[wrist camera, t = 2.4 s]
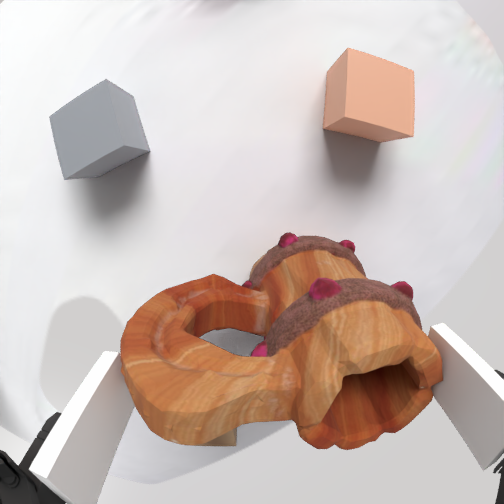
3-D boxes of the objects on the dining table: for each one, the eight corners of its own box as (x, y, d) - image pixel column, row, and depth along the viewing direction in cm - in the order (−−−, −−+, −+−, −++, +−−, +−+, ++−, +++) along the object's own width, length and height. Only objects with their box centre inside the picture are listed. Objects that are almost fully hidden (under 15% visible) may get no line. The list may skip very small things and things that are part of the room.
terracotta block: (322, 129, 19) (344, 116, 14) (326, 71, 18) (347, 47, 13) (380, 142, 19) (413, 136, 14) (383, 87, 18) (413, 71, 13)
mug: (363, 233, 21) (506, 320, 7) (342, 323, 23) (423, 456, 9) (177, 212, 20) (58, 298, 6) (173, 310, 22) (113, 465, 8)
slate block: (98, 177, 19) (64, 179, 15) (83, 124, 18) (49, 116, 13) (150, 151, 19) (124, 145, 14) (133, 96, 18) (106, 79, 13)
